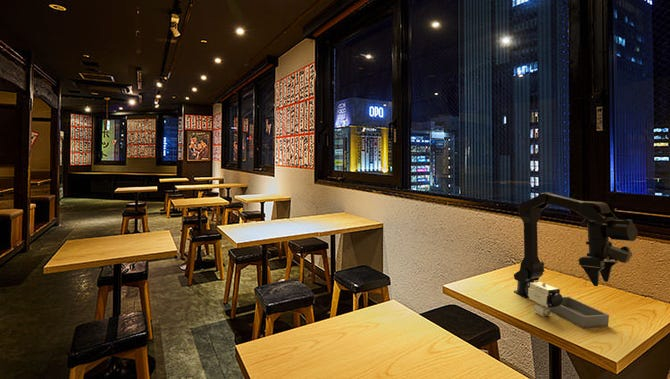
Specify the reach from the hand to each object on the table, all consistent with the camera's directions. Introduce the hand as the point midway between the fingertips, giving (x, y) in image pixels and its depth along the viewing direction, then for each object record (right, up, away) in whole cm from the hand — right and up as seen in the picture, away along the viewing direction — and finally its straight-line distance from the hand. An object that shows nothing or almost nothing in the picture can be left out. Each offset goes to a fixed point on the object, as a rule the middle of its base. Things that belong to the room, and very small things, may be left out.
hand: (601, 283), depth 118 cm
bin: (-5, -14, +6) cm, 16 cm away
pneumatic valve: (-16, -14, +8) cm, 22 cm away
